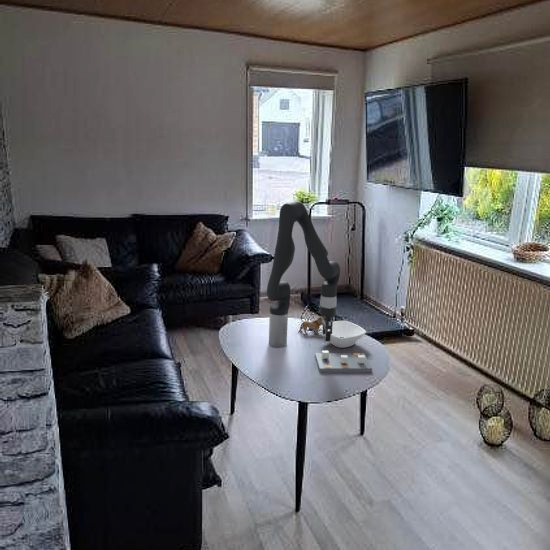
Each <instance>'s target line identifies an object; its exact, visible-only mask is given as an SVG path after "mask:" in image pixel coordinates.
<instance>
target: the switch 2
mask: <svg viewBox="0 0 550 550" xmlns="http://www.w3.org/2000/svg"><path fill="white" fill-rule="evenodd" d="M340 362H341V363H348V356H347V355H341V357H340Z"/></svg>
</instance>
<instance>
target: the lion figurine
mask: <svg viewBox="0 0 550 550" xmlns="http://www.w3.org/2000/svg"><path fill="white" fill-rule="evenodd" d="M321 325H322V316H318V317H317V319H315V320H314V321H308V320H307V321H306V320H305V321H302V323H301V324H300V327H299V330H298V332H297V333H298V334H300V333H304V334H305V335H308V334H309V333H308V332H307V330H308V328H309V329H311V330H312V329H313V330H314V331H315V332H314V333H316V335H319V334H320V333H319V330H320V328H319V326H321ZM303 329H304V330H303Z"/></svg>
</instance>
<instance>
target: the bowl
mask: <svg viewBox="0 0 550 550" xmlns="http://www.w3.org/2000/svg"><path fill="white" fill-rule="evenodd" d="M332 322H333V323H332V334H331V338H330V341H328V342H329V343H330V344H331V345H333V346H335V347H337V348H339V349H344V348H350V347H352V346H354V345H355V343H357V342H358V340H360V339H362V338H363V337H364V336H365V334H367V330H365V328H363V327H361V326H359V325H358V324H356V323H353V322H351V321H347V320H336V321H332ZM319 330H320V331H321V333H322V335H324V336H325V337H326V334H323V325H321V326H319ZM328 331H330V329H328ZM340 337H344V338H340Z"/></svg>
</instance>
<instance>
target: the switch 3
mask: <svg viewBox="0 0 550 550" xmlns="http://www.w3.org/2000/svg"><path fill="white" fill-rule="evenodd" d="M365 356H366V355H365ZM365 356H364V355H358V356H357V362H358V363H365Z"/></svg>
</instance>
